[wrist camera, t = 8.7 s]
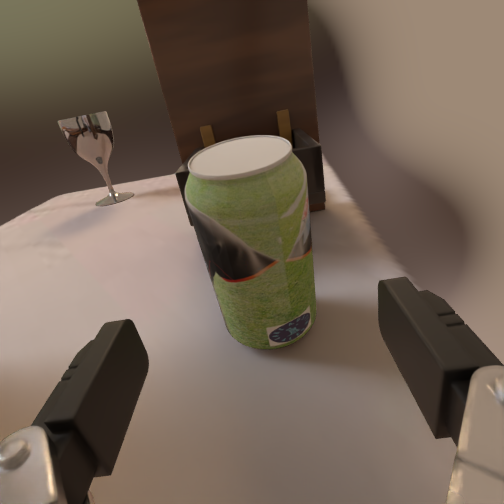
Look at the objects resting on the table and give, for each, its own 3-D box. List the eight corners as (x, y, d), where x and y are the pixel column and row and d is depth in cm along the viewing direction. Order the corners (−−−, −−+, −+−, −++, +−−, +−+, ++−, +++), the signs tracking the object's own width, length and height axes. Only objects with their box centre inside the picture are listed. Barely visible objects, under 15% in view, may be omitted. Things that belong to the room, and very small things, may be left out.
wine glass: (132, 200, 59) (99, 112, 52) (88, 210, 58) (49, 122, 52) (138, 189, 66) (110, 110, 59) (99, 197, 65) (66, 119, 59)
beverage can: (296, 288, 25) (273, 124, 19) (346, 353, 18) (331, 133, 13) (218, 313, 24) (169, 147, 18) (241, 391, 17) (177, 171, 12)
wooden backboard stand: (352, 252, 28) (333, -141, 17) (185, 280, 29) (68, -73, 18) (313, 191, 45) (291, -30, 34) (208, 210, 46) (153, 2, 35)
